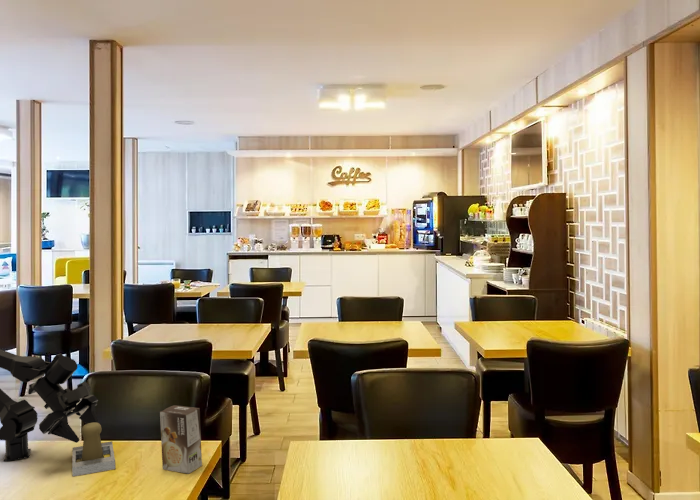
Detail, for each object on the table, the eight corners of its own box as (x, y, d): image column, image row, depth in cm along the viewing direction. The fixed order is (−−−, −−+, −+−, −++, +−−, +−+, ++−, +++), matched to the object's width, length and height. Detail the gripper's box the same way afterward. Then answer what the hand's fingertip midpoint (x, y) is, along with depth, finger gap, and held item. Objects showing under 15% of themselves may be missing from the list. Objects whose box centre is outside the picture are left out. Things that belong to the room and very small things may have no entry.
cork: (104, 464, 167) (102, 425, 166) (80, 468, 165) (78, 428, 164) (104, 456, 173) (103, 419, 172) (82, 459, 171) (80, 421, 170)
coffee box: (203, 465, 165) (201, 407, 165) (188, 474, 160) (186, 414, 159) (176, 460, 169) (174, 404, 168) (160, 469, 163) (158, 411, 162)
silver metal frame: (73, 455, 174) (72, 447, 174) (112, 449, 178) (112, 441, 178) (72, 476, 160) (72, 467, 159) (115, 468, 164) (115, 460, 164)
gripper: (46, 384, 160) (84, 428, 158) (91, 367, 178) (125, 406, 176) (22, 412, 162) (59, 455, 160) (69, 392, 180) (102, 430, 178)
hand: (89, 435), depth 169 cm, fingers open, 9 cm apart
